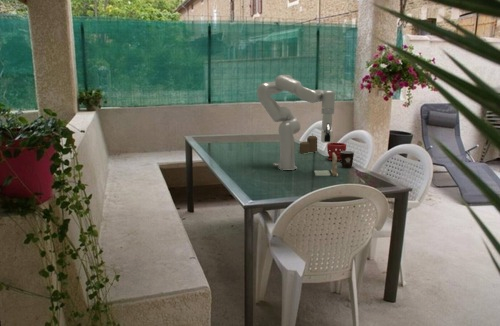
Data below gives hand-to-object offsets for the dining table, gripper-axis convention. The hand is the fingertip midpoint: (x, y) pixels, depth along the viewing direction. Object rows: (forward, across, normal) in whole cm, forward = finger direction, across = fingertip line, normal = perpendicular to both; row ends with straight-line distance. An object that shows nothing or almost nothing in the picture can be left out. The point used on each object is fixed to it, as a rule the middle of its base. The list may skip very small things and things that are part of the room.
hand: (326, 140), depth 260 cm
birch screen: (+21, +1, +6) cm, 22 cm away
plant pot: (+21, -39, +12) cm, 46 cm away
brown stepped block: (+22, -69, -5) cm, 73 cm away
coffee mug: (+21, -18, +15) cm, 31 cm away
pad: (+21, +1, -2) cm, 21 cm away
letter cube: (+1, 0, 0) cm, 1 cm away
